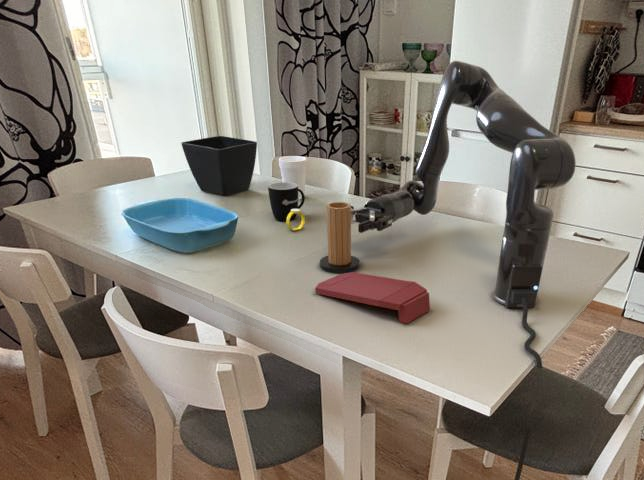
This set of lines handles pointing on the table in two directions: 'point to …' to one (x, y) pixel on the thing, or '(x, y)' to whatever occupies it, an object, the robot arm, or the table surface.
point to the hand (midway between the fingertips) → (346, 225)
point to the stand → (339, 266)
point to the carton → (379, 293)
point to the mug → (284, 199)
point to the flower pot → (221, 163)
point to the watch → (290, 217)
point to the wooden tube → (339, 233)
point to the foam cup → (294, 171)
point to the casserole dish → (182, 223)
